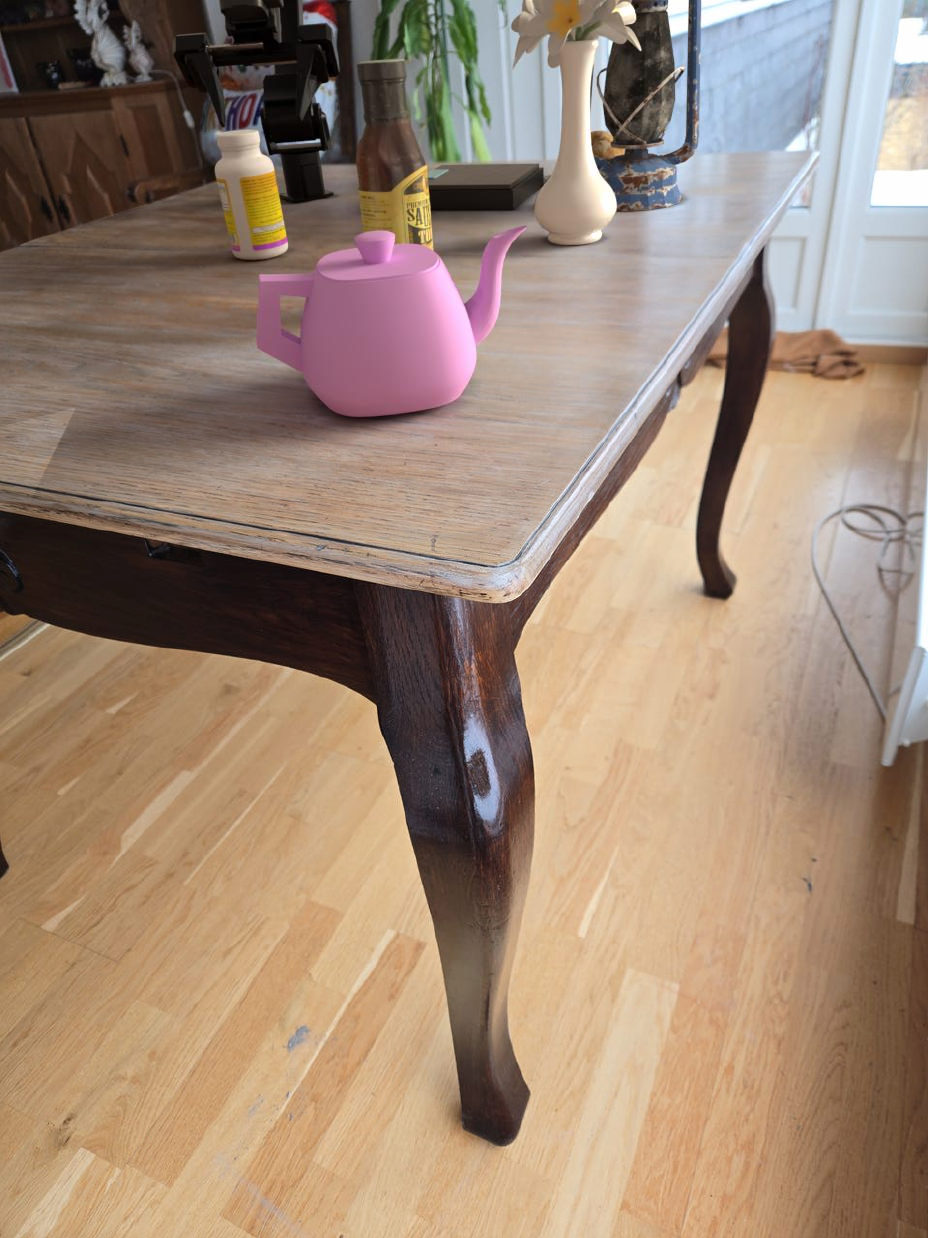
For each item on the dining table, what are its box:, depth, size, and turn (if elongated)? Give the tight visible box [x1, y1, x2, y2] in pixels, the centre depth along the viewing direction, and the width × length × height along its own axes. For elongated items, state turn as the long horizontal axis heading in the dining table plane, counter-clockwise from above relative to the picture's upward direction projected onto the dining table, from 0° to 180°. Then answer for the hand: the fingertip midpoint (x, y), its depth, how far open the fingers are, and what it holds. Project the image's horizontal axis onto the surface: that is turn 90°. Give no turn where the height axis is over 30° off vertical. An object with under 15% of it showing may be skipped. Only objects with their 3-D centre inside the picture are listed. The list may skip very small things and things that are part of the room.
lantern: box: [590, 0, 702, 212], centre depth 105 cm, size 15×12×30 cm
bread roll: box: [591, 130, 625, 159], centre depth 126 cm, size 10×10×8 cm
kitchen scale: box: [427, 163, 545, 211], centre depth 121 cm, size 16×16×3 cm
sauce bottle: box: [355, 58, 434, 251], centre depth 76 cm, size 7×6×20 cm
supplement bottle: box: [214, 129, 289, 261], centre depth 99 cm, size 7×7×13 cm
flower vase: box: [510, 0, 641, 246], centre depth 92 cm, size 13×18×25 cm
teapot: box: [255, 225, 528, 418], centre depth 62 cm, size 13×20×11 cm
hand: (260, 121), depth 102 cm, fingers open, 9 cm apart
